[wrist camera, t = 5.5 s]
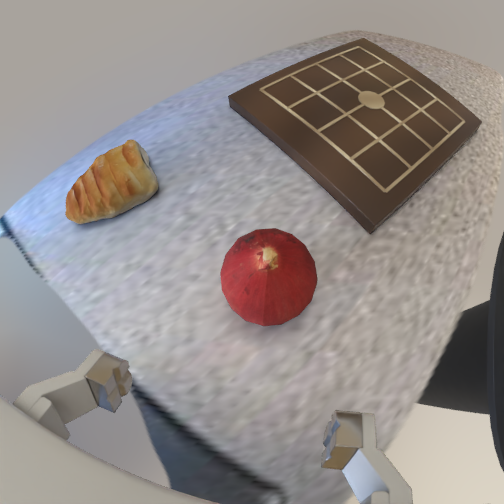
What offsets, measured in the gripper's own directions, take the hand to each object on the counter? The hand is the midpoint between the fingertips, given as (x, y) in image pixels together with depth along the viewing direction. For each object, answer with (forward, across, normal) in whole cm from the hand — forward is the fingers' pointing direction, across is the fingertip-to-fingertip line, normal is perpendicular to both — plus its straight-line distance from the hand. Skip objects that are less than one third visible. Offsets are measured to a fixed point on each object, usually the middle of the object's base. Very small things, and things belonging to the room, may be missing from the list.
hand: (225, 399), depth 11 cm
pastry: (+17, +15, -2) cm, 23 cm away
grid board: (+26, -7, -12) cm, 30 cm away
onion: (+12, 0, +2) cm, 12 cm away
